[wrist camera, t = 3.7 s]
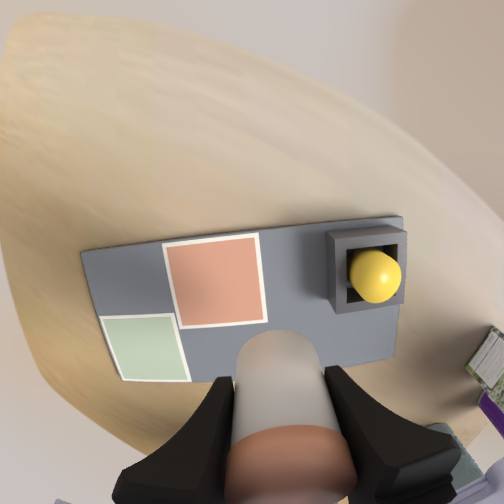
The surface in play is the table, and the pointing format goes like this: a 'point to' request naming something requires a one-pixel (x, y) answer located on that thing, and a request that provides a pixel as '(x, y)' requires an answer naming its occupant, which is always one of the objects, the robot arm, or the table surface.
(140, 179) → the table surface
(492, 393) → the syrup box
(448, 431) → the teal plant pot
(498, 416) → the container
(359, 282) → the button
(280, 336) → the white cylinder
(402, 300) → the button housing
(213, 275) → the colouring board
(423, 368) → the table surface
